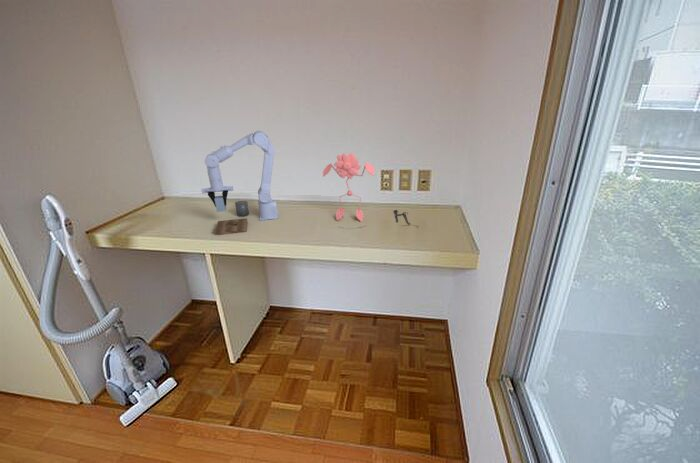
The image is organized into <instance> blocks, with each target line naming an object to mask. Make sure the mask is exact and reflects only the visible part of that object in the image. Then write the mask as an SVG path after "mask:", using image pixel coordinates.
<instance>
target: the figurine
mask: <svg viewBox="0 0 700 463" xmlns="http://www.w3.org/2000/svg"><path fill="white" fill-rule="evenodd" d="M336 159H337V161H335V162H334V164H332V163H329V164H327V165H326V166H325V168H324V169H323V172H322V177H325V176H327V175H328V174H329V173H330V172H331V170H332V168H333V170H334V171H335V173H336V174H337V175H338V176H339V177H340V178H342V179H345V178H346V177H347V179H346V180H345V181H346V182H345V184H346V186H347V189H348V190H347V192H346V194H343V195H340V196H339V197H338V198H339V199H341V198H342V197H345V196H346V195H347V196H349V197H351V196H353V197H358V199H359V202H361V199H362V198H361V196H358V195H355V194H353V191H352V190H350V187H349V183H348V181H349V179H353V178H354V177H356V176H357V177H363V176H364V174H365V170H366V172H367V173H368V174H370V175H372V176H375V175H376V174H375V167H374V166H373V164H371V163H370V162H368V161H365V163H364V167H363V170H362V172H361V174H359V172H358V171H359V170H360V169H361V168H362V166H361V164H360V163H359V159H358V158H356V157H355V154H354V152H350V153H349V155H348V154H347V153H345V152H344V153H342V155H341V154H340V155H337V156H336ZM333 165H334V166H333ZM335 167H336V168H335ZM353 176H354V177H353ZM341 203H342V201H341V200H339V205H340V208H339V209H337V211H336V213H335V219H336V221H337V222H338V221H339V220H341V219H342V218H344V214H345V210H344V208H342V204H341ZM360 208H361V203H359V205H358V209H356V212H355V215H356V218H357V219H358V220H359V221H360V222H363V219H364V213H363V211H362V209H360ZM331 217H333V215H331ZM365 226H366V227H367V225H365ZM365 226H362V228H363V227H365ZM339 228H341V229H343V227H341V226H339ZM360 228H361V226H359V227H358V229H360Z"/></svg>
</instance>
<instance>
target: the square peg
mask: <svg viewBox="0 0 700 463" xmlns="http://www.w3.org/2000/svg"><path fill="white" fill-rule="evenodd" d="M214 199H215V204H216V207H215V208H216V213H217V212H226V210H227V205H226V206H225V205H224V199H223V195H215V198H214Z"/></svg>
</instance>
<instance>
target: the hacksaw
mask: <svg viewBox="0 0 700 463" xmlns="http://www.w3.org/2000/svg"><path fill="white" fill-rule="evenodd" d="M393 213H394V217H395V218H394V219H395V222H396V223H399V218H398V217H399V216H403V218H404V220H405V223H406V225H405V224H403V225H402V227H406V226H407V227H408V226H409V227H410V226H413V227H415V225H414V224H411V222H409V220H408V217H407V214H406V211H404V212H402V213H400V214H399V211H398V210H397V209H394V210H393ZM416 228H419V226H418V225H416Z"/></svg>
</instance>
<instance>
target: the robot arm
mask: <svg viewBox="0 0 700 463" xmlns="http://www.w3.org/2000/svg"><path fill="white" fill-rule="evenodd" d="M254 144H255V145H256V146H258V148H260V149H261V150H262V151H263V152H264V155H263V164H262V172H261V181H260V187H259V188H258V190H257V194H258V196H257V198H258V201H257V202H258V209H259V221H266V220H273V219H274V220H275V219H279V216H278V215H279V210H278V207H277V206H278V205H277V200H275V199H274V200H273V199H272V196H271V182H272V173H273V166H274V165H273V164H274V157H275V148H274V146H273V144H272V142H271V141H270V139H269V137H268V135H267V134H266V133H265V132H264V131H263V130H256V131H254V132H251V133H249V134H247V135H245V136H244V137H242V138H240V139H239V140H237V141H236V142H234V143H232V144H231V145H220V147H219V149H217V150H215V151H212V152H211V153H209V154H207V155H206V157H205V159H204V164H205V165H206V169H207V176H208V179H209V186H210V187H206V188H202V189H201V194H207V196H208V198H209V199H211V200H210V201H211V202H212V203H213V205H214V207H215V208H216V204H215V199H214V198H215V196H216V193H220V192H222V193H221V196H223V199H224V205H225V206H226V207H227V199H228V193H229V192H233V191H234V186H233V185H232V186H230V185H229V186H227V185H226V186H224V184H223V179H222V173H221V169H220V165H219V163H220V164H221V163H223V162H225V161H226V160H229V159H230V158H231V157H233V156H234V152H236V151H238V150H241V149H242V148H244V147H245V146H254Z"/></svg>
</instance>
